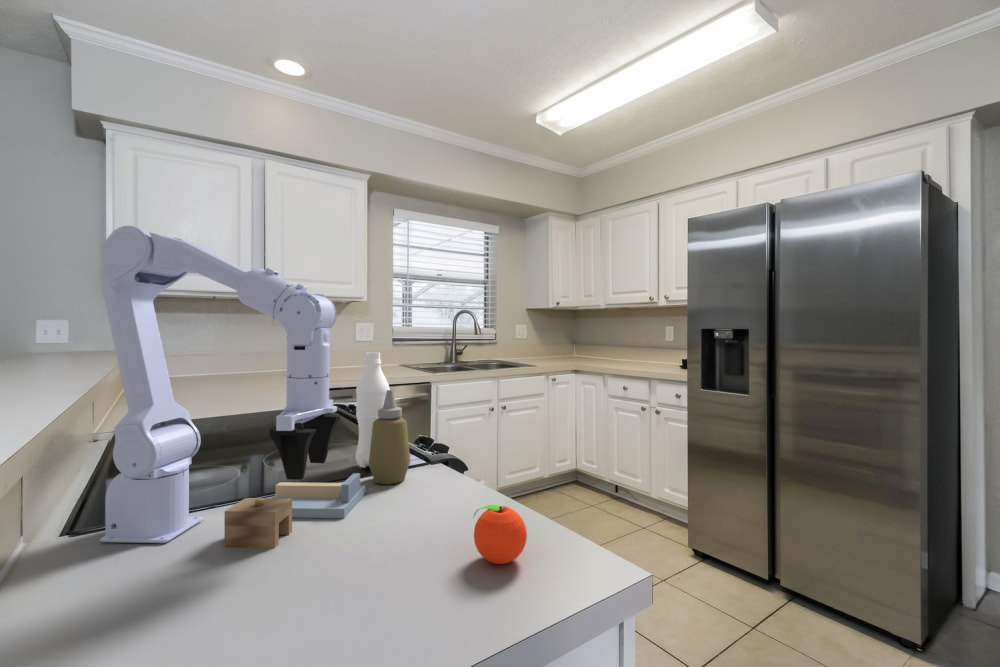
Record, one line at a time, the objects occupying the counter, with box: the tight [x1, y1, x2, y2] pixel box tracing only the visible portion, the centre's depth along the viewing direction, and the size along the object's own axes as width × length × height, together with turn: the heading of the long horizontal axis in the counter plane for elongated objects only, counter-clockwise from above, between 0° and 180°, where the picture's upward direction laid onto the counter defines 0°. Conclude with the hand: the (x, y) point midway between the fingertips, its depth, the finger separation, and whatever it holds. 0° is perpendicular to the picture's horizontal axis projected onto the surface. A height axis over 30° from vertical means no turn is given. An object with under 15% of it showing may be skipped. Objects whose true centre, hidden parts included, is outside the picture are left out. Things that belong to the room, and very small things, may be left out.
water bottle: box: [355, 351, 391, 468], centre depth 100 cm, size 7×7×25 cm
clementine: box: [472, 504, 528, 565], centre depth 60 cm, size 8×7×7 cm
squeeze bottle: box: [368, 389, 411, 485], centre depth 91 cm, size 8×8×18 cm
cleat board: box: [270, 472, 366, 519], centre depth 78 cm, size 14×11×4 cm
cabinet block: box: [224, 497, 293, 549], centre depth 65 cm, size 7×5×6 cm
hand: (307, 470), depth 66 cm, fingers open, 7 cm apart
